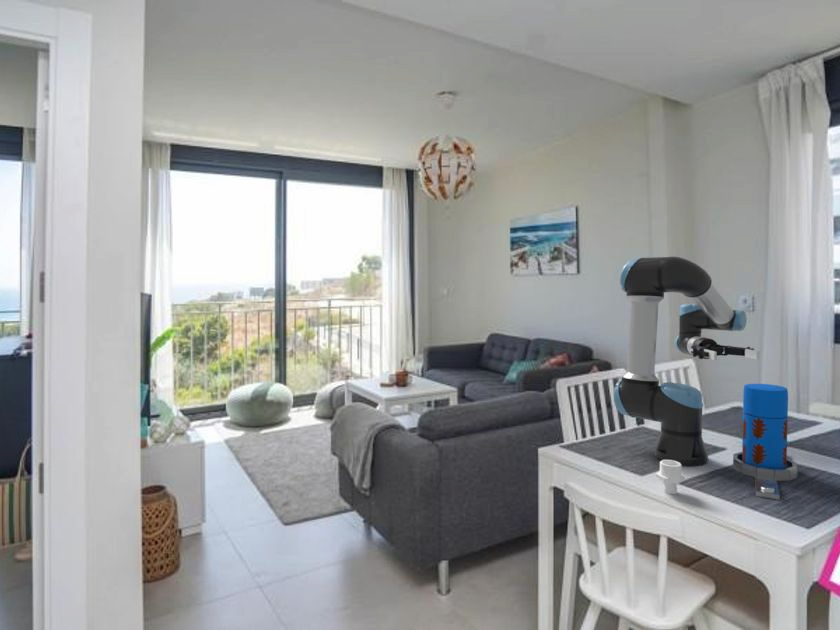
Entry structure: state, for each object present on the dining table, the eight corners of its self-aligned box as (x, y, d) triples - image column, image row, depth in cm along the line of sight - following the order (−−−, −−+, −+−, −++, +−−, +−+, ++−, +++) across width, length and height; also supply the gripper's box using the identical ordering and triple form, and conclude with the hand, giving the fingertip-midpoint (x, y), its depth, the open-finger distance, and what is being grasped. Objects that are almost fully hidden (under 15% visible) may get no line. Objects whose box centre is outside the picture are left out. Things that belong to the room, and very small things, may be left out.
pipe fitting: (688, 491, 136) (688, 462, 135) (676, 499, 131) (677, 469, 131) (663, 484, 140) (664, 456, 140) (652, 492, 136) (652, 463, 135)
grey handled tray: (732, 491, 135) (732, 481, 135) (733, 447, 170) (733, 439, 169) (805, 504, 127) (805, 492, 126) (790, 455, 161) (790, 446, 161)
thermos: (779, 480, 142) (781, 392, 140) (736, 470, 150) (738, 387, 149) (790, 470, 149) (792, 387, 147) (749, 461, 157) (750, 382, 155)
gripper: (737, 357, 185) (775, 366, 164) (668, 358, 186) (697, 367, 165) (737, 337, 184) (776, 343, 163) (668, 337, 186) (697, 344, 164)
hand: (736, 355), depth 164 cm, fingers open, 13 cm apart
